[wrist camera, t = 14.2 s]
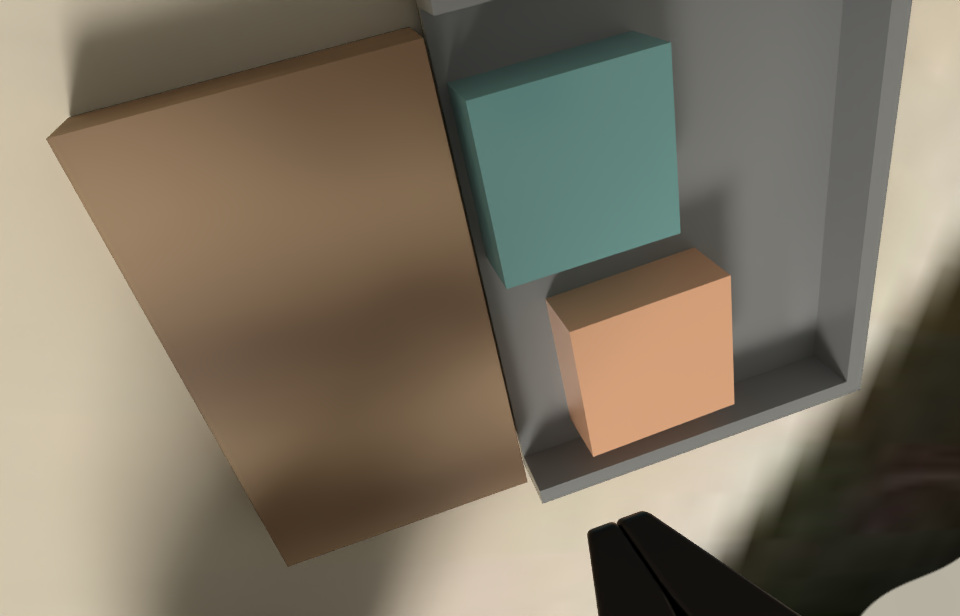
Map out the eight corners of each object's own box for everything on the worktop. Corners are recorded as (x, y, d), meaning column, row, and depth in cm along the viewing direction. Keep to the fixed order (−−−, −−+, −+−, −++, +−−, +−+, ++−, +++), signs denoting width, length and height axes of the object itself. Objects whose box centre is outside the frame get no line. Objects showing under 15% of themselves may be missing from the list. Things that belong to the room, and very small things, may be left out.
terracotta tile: (701, 369, 24) (734, 403, 22) (570, 418, 23) (593, 456, 22) (694, 247, 21) (730, 275, 19) (545, 298, 21) (569, 332, 19)
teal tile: (646, 206, 20) (680, 233, 18) (486, 257, 19) (506, 289, 18) (632, 30, 17) (671, 42, 16) (446, 83, 17) (465, 101, 15)
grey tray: (821, 358, 26) (860, 389, 24) (523, 463, 24) (542, 503, 22) (866, -139, 17) (931, -146, 15) (410, -22, 16) (426, -15, 14)
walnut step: (511, 446, 24) (527, 481, 22) (286, 523, 23) (287, 566, 21) (409, 27, 16) (423, 37, 15) (68, 117, 15) (45, 138, 14)
